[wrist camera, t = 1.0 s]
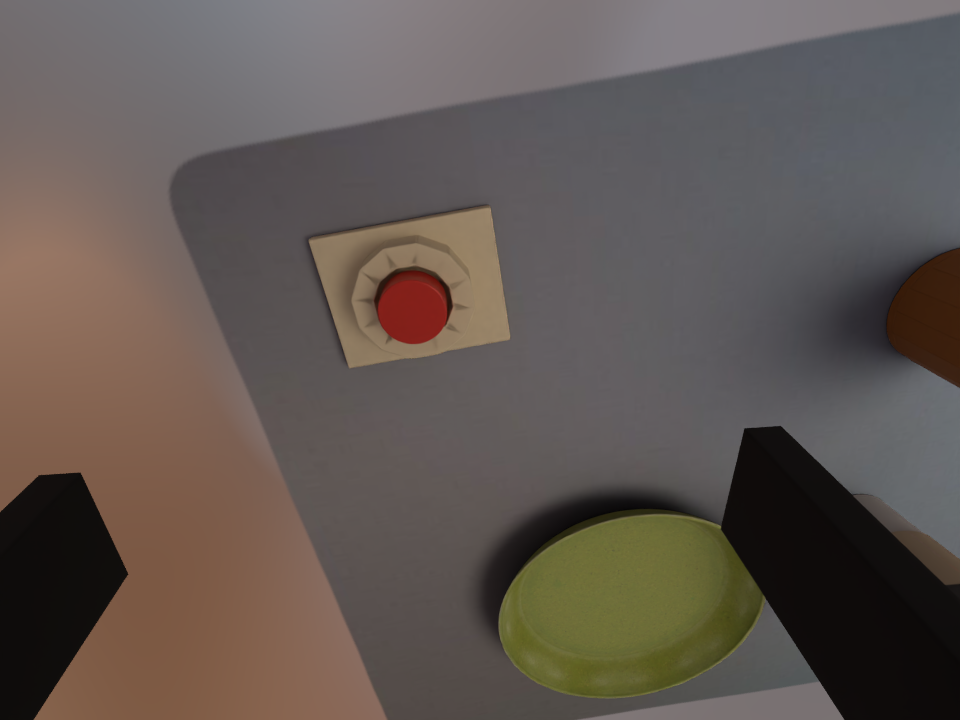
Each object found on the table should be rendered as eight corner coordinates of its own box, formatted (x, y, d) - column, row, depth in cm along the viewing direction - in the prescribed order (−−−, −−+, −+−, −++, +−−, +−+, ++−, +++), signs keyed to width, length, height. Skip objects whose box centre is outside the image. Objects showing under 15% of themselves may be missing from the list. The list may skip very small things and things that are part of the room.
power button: (439, 264, 28) (439, 274, 26) (452, 325, 30) (453, 338, 28) (373, 276, 28) (369, 287, 26) (389, 336, 30) (386, 350, 28)
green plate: (763, 469, 39) (788, 499, 36) (728, 648, 48) (746, 683, 45) (483, 502, 38) (487, 535, 35) (504, 676, 48) (508, 713, 45)
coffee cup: (830, 582, 45) (995, 789, 31) (766, 537, 42) (920, 745, 28) (924, 517, 42) (1150, 713, 29) (863, 463, 39) (1084, 655, 26)
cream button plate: (489, 204, 29) (493, 213, 26) (509, 335, 32) (514, 353, 30) (310, 237, 29) (299, 248, 27) (350, 363, 33) (344, 383, 30)
